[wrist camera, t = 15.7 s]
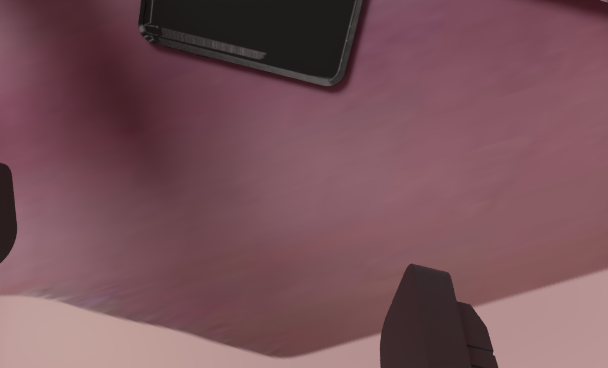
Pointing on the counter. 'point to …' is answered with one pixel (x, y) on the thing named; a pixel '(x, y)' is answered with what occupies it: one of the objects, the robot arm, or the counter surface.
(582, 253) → the counter surface
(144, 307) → the counter surface
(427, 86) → the counter surface
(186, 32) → the phone
